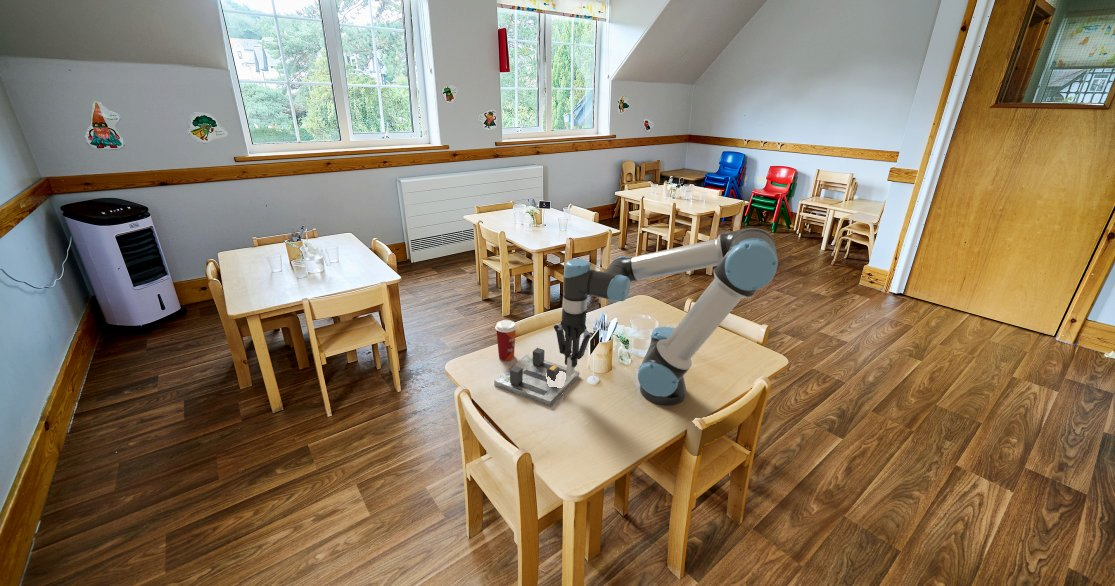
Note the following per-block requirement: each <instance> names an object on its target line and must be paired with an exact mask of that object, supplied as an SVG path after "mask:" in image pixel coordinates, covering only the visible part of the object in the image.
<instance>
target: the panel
mask: <svg viewBox="0 0 1115 586" xmlns="http://www.w3.org/2000/svg"><path fill="white" fill-rule="evenodd" d="M551 365H554V366H557V367H559V371H563V372H565V373H566V372H567V366H563V365H560V364H558V363H554V362H551V361H547V360H545V359H544V363H542V364H541V365H540V366H539V365H536V364H533V355H530V354H528V353H526V354H525V355H523V357H521V358H520V359H519V360H518V361H516V362H515V363H514V364H513V365H511V366H510V367H509V368H508V369H507V370H505V371H504V372H503V373H502V374H501V375H499V376H498V377H497V378H495V379H494V380H493V381H494V382H493V383H494V386H495V387H497V388H500V389H502V390H505V391H507V392H510V393H512V394H515V395H518V396H520V397H523V398H526V399H529V400H531V401H534V402H537V403H539V404H542V405H544V406H547V407H550V408H551V407H552V406H553V405H554V404H555V403H556V402H557V401H558V400H559V399H560V397H561V396H562V395H563V394H564V393H565V392H566V391H567V390H568V389H569V388H570V387H571V386H572V384H574V383H575V382H576V381H577V380H578V378H580V371H579V370H575V369H574V373H573V374H572V375H571V376H568V375H566V380H565V383H564V386H563V387H562V388H557V387H549V386H548V384H547V379H546V373H547V369H548V368H549V367H550V366H551ZM514 366H517V367H520V368H523V381H522V382H521V383H520V384H519V385H515V384H512V383H510V370H511V369H512V368H513V367H514ZM563 392H564V393H563ZM562 393H563V394H562Z"/></svg>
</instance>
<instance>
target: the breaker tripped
mask: <svg viewBox="0 0 1115 586" xmlns="http://www.w3.org/2000/svg"><path fill="white" fill-rule="evenodd" d="M558 373H559V367H557V366H554V365H551V366H550V367H549V368H548V369H547V377H548V376H549V377H550V378H551V380H553V381H555V379H556V375H557V374H558Z"/></svg>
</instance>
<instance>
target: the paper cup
mask: <svg viewBox="0 0 1115 586" xmlns="http://www.w3.org/2000/svg"><path fill="white" fill-rule="evenodd" d="M494 328H495V331H496V341H497V352H498V358H499V360H500V361H502V362H510V361H512V360H514V358H515V348H516V347H515V346H516V331H517V325H516V323H515V321H513V320H510V319H503V320H500V321H498V322H496V325H495V327H494Z"/></svg>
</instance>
